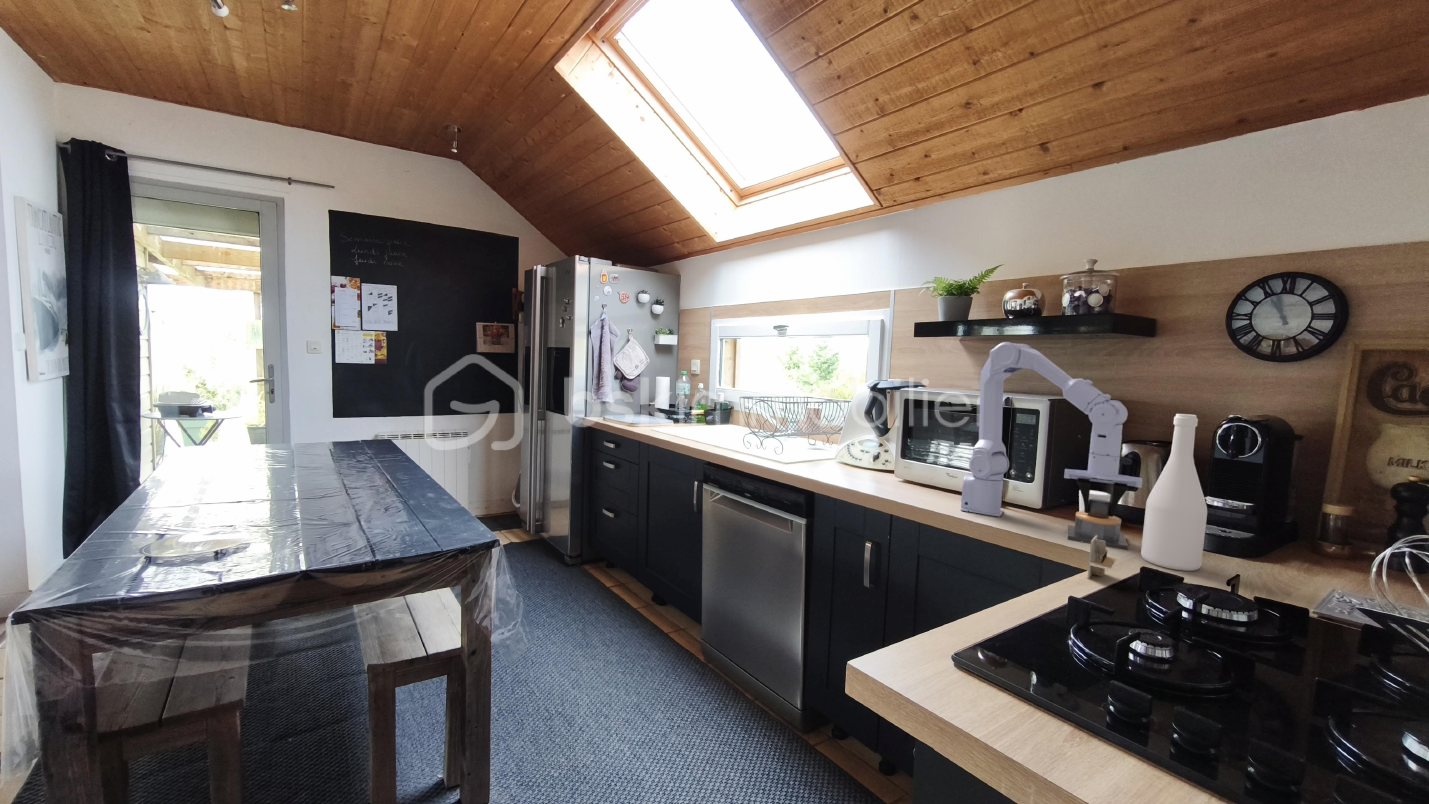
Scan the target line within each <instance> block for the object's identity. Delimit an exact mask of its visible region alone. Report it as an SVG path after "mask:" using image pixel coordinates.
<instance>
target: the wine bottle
mask: <svg viewBox="0 0 1429 804" xmlns="http://www.w3.org/2000/svg"><path fill="white" fill-rule="evenodd" d="M1197 417H1198V416H1197V415H1196V414H1188V413H1187V414H1186V413H1176V414H1175V416H1174V417H1173V425H1174V429H1173V436H1172V441H1171V442H1172V444H1171V451H1170V455H1169V457H1168V460H1167V462H1166V464H1165V465H1164V467H1163V470H1162V471H1161V473H1160V475H1159V476H1158V479H1157V480H1156V482H1155V483H1154V485H1153V487H1152V489H1151V491H1150V493H1149V495H1148V497H1147V499H1146V502H1145V511H1144V513H1145V514H1144V521H1143V522H1144V523H1143V530H1142V540H1141V549H1140V550H1141V551H1140V554H1141V557H1142V559H1144V560H1145V561H1146V562H1148V563H1150V564H1153V565H1156V566H1159V567H1161V568H1167V569H1171V570H1175V571H1176V570H1177V571H1183V572H1184V571H1186V572H1187V571H1188V572H1192V571H1197V570H1199V568H1200V567H1201V565H1202V562H1203V561H1202V560H1203V553H1204V551H1203V550H1204V543H1205V537H1206V536H1205V535H1206V527H1207V516H1208V507H1207V503H1206V500H1205V495H1204V493H1203V489H1202V486H1201V482H1200V478H1199V475H1198V472H1197V468H1196V465H1195V458H1194V450H1195V449H1194V448H1195V437H1196V436H1195V435H1196V427H1198V422H1199V418H1197Z"/></svg>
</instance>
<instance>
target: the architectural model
mask: <svg viewBox="0 0 1429 804" xmlns="http://www.w3.org/2000/svg"><path fill="white" fill-rule="evenodd" d="M1116 561H1117V559H1116V558H1112V557H1108V548H1107V546H1106V543H1105V541H1103V540H1098V539H1097V535H1096V536H1095V537H1094V538H1093V539H1092V541H1091V543H1090V549H1089V559H1088V569H1087V580H1090V578H1091V576H1092V575H1095V576H1099V577H1103V575H1105V572H1106V570H1107V571H1108V570H1109V571H1111V570H1112V569H1113V566H1114V565H1115V563H1117V562H1116Z"/></svg>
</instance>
